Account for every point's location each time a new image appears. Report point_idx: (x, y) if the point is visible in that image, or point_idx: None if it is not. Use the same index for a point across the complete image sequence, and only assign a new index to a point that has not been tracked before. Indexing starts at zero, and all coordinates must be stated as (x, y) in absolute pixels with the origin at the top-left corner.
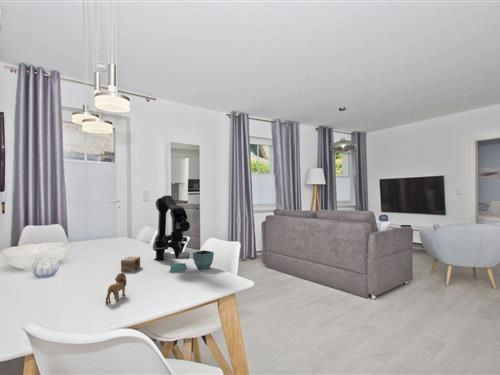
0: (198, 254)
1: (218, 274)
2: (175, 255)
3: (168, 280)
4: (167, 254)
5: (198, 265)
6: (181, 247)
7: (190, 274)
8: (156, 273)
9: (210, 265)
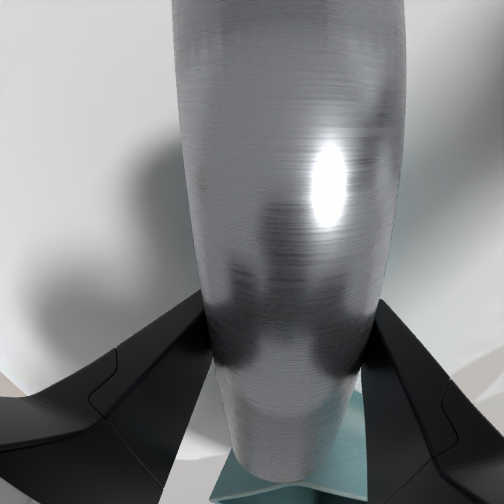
0: (235, 492)
1: None
2: (169, 315)
3: (5, 225)
4: (178, 96)
5: None
6: (381, 502)
7: None
8: (106, 32)
9: None
